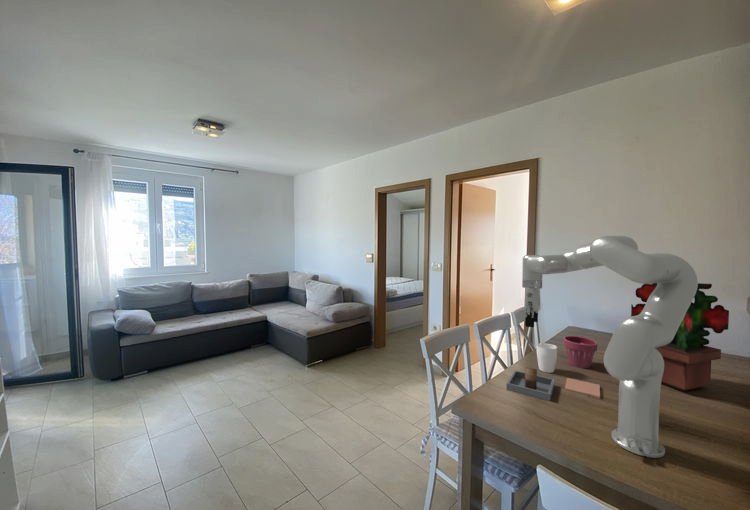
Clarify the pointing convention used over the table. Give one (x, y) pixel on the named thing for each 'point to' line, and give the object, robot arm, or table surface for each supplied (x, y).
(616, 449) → the table surface
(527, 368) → the walnut peg
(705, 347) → the potted plant
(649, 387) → the robot arm
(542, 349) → the cup
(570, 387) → the terracotta board
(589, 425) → the table surface
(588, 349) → the plant pot
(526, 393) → the bin
